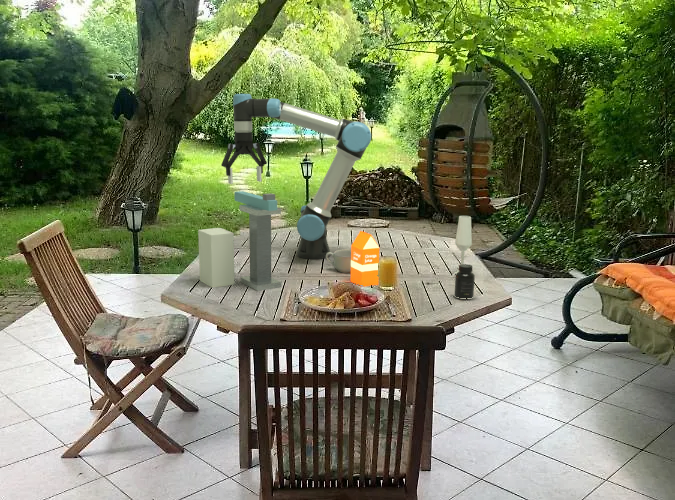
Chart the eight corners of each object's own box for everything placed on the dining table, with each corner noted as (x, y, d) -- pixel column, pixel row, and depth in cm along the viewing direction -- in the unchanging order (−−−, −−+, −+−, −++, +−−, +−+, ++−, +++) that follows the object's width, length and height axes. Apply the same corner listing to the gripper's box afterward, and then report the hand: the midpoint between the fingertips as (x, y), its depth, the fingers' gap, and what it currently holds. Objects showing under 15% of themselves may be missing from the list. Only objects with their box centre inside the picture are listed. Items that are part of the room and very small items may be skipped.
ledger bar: (234, 200, 252) (234, 186, 251) (242, 200, 254) (242, 186, 253) (268, 210, 230) (268, 195, 229) (277, 210, 232) (277, 195, 231)
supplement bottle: (452, 294, 237) (453, 263, 234) (470, 294, 237) (472, 263, 235) (457, 300, 230) (459, 268, 227) (475, 300, 231) (477, 267, 228)
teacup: (362, 269, 271) (362, 250, 269) (354, 275, 261) (354, 256, 259) (331, 266, 276) (331, 247, 274) (322, 272, 266) (322, 253, 264)
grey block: (199, 280, 249) (198, 229, 245) (221, 277, 254) (220, 227, 250) (212, 287, 240) (211, 235, 235) (234, 284, 245) (233, 233, 240)
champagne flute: (457, 276, 262) (461, 218, 257) (450, 272, 269) (453, 215, 263) (472, 275, 264) (476, 218, 259) (465, 271, 270) (468, 215, 265)
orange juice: (361, 286, 245) (362, 235, 240) (350, 281, 253) (351, 231, 248) (378, 284, 248) (380, 233, 244) (367, 279, 256) (368, 229, 252)
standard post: (240, 282, 248) (239, 205, 242) (263, 278, 254) (263, 203, 247) (257, 290, 237) (256, 210, 230) (281, 287, 243) (281, 208, 236)
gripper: (265, 130, 279) (266, 179, 284) (211, 132, 265) (214, 183, 270) (273, 131, 273) (275, 181, 278) (219, 132, 259) (222, 185, 264)
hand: (245, 182), depth 274 cm, fingers open, 13 cm apart
